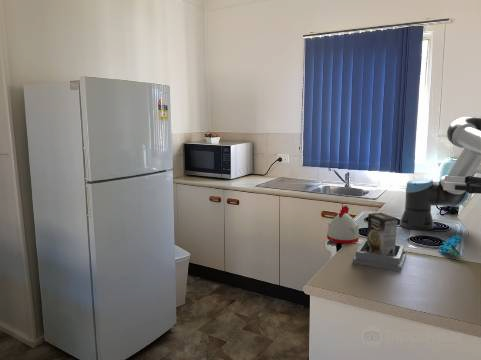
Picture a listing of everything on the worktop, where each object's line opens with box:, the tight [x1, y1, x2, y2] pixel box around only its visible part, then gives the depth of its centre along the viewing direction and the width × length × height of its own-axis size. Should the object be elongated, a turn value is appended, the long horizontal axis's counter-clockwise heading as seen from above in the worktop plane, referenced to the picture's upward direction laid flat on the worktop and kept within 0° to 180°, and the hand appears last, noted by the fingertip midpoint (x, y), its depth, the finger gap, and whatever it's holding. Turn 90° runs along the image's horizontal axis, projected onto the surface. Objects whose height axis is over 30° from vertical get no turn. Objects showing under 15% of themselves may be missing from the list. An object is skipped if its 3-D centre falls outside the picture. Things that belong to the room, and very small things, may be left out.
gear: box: [438, 234, 462, 259], centre depth 155 cm, size 11×6×10 cm
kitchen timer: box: [326, 205, 360, 245], centre depth 174 cm, size 14×14×15 cm
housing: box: [352, 239, 407, 272], centre depth 150 cm, size 17×17×4 cm
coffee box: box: [366, 212, 398, 257], centre depth 149 cm, size 9×6×16 cm
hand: (443, 182), depth 136 cm, fingers open, 13 cm apart
